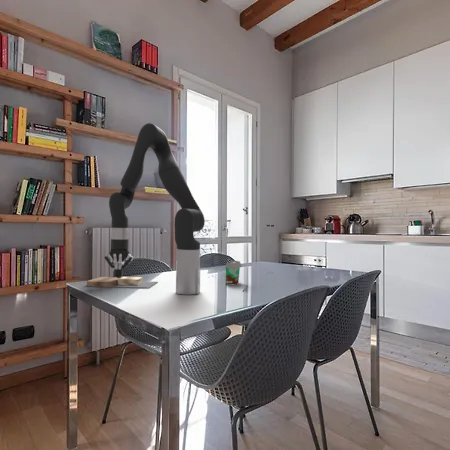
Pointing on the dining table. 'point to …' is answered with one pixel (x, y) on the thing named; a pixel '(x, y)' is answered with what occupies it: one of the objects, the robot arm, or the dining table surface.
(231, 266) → the food container
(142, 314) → the dining table surface
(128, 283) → the beech tile
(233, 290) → the dining table surface
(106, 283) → the block
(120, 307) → the dining table surface
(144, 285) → the charcoal mat
